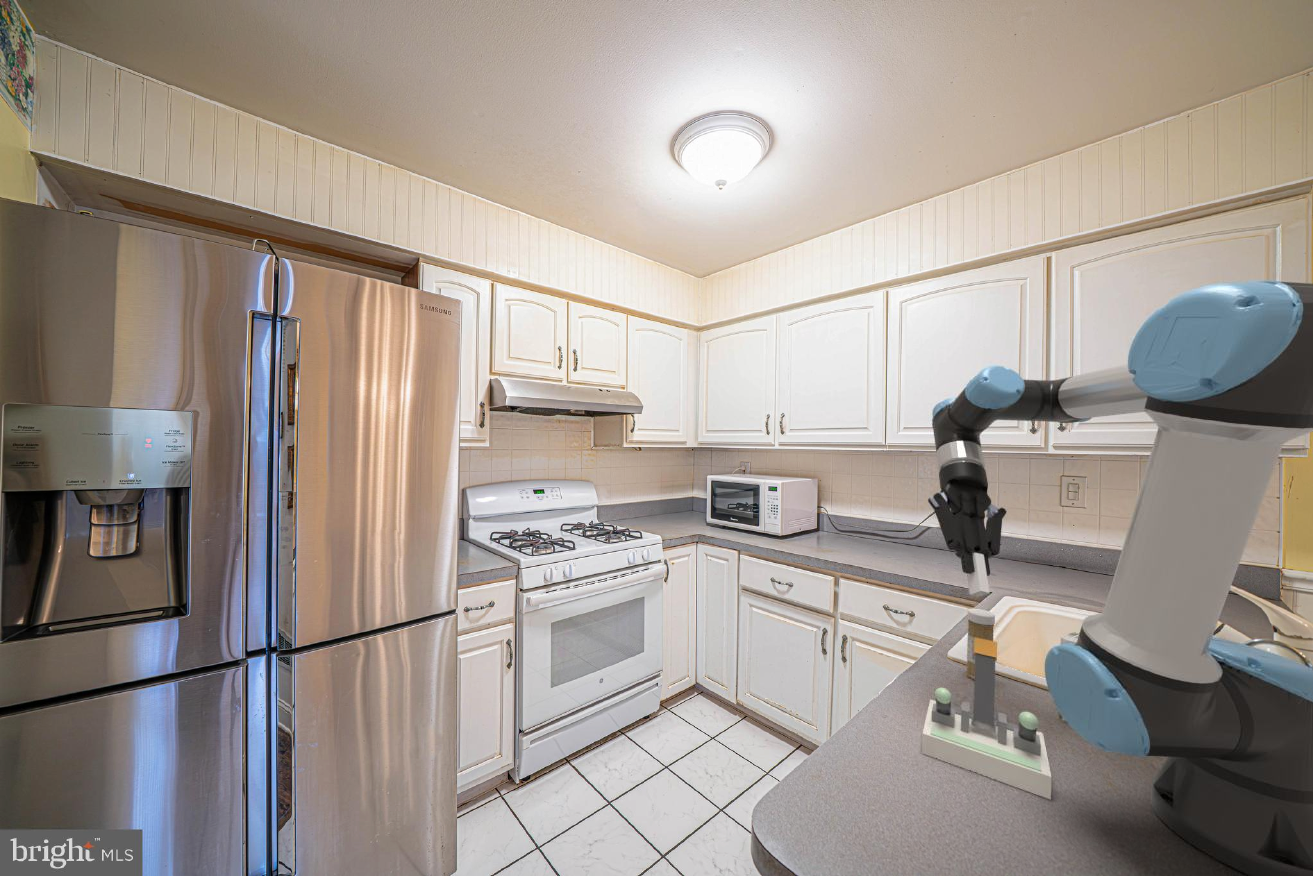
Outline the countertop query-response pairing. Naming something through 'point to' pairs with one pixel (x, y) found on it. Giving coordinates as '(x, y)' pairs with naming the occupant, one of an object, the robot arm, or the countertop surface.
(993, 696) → the breaker lever
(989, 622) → the sprinkles bottle
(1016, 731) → the lever control panel
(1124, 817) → the countertop surface
